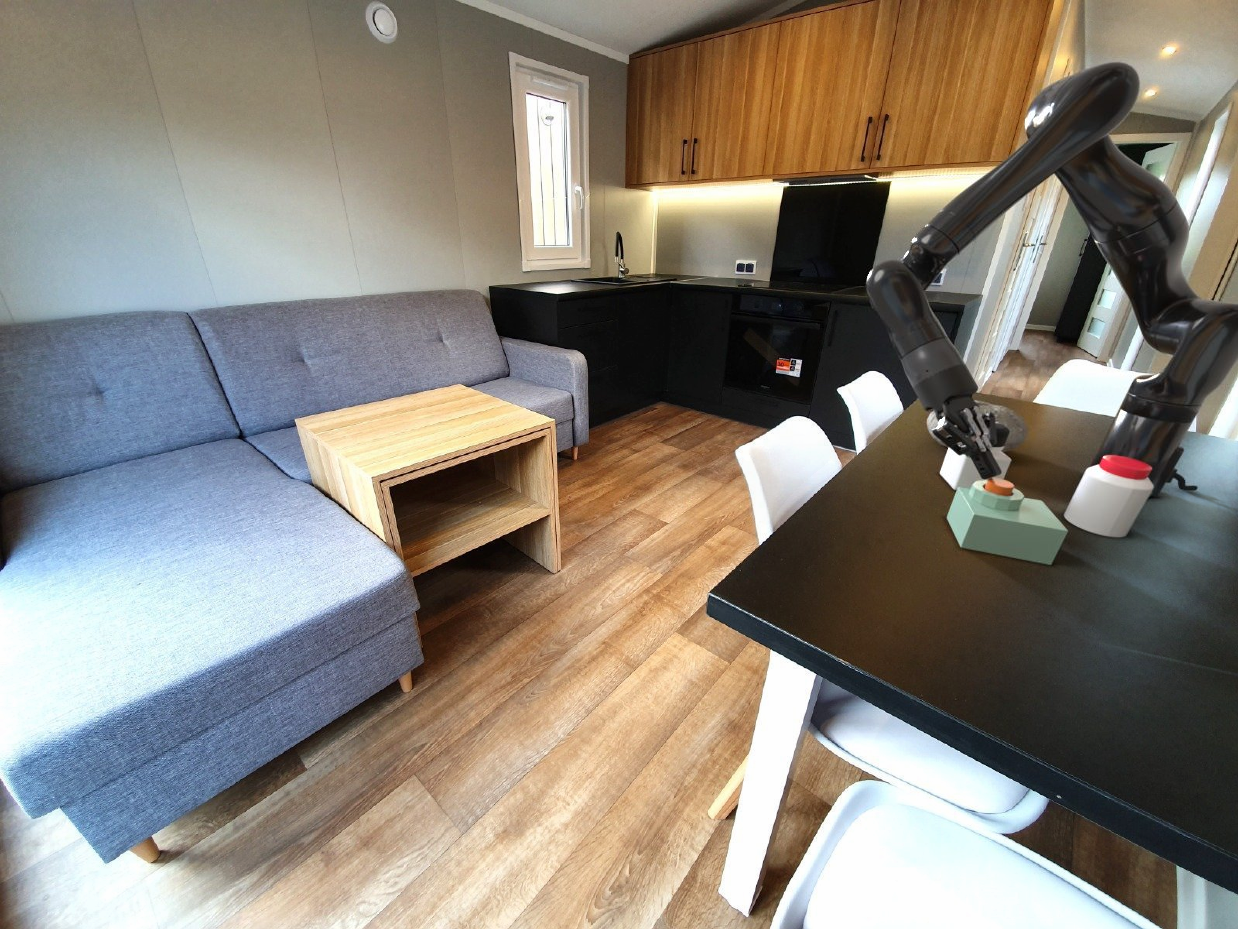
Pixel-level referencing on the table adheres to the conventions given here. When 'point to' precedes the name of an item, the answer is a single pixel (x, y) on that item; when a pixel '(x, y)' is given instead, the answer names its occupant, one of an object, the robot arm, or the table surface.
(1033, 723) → the table surface
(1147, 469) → the pill bottle
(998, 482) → the orange push button
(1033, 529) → the button base
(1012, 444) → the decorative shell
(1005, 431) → the medicine bottle
